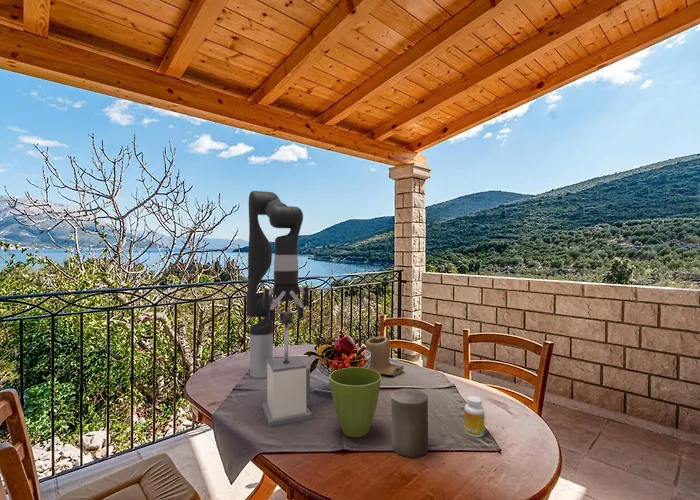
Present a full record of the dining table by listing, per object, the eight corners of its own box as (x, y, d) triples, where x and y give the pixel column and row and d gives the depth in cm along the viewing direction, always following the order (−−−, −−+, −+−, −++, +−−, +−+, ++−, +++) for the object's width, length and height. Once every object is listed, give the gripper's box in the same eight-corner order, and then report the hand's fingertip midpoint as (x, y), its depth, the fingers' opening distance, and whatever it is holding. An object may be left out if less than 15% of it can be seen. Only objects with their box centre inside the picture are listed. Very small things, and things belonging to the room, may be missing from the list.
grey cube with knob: (262, 408, 116) (262, 358, 115) (303, 401, 121) (303, 353, 121) (269, 427, 104) (269, 371, 103) (315, 418, 109) (315, 365, 109)
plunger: (271, 369, 114) (271, 311, 114) (295, 366, 117) (295, 310, 117) (276, 378, 107) (276, 316, 107) (301, 374, 110) (301, 314, 110)
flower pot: (322, 423, 106) (322, 370, 105) (366, 414, 111) (367, 364, 111) (340, 450, 92) (340, 389, 92) (390, 438, 98) (390, 380, 98)
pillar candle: (435, 454, 90) (435, 395, 90) (400, 460, 87) (400, 400, 87) (417, 435, 99) (417, 382, 100) (385, 440, 97) (385, 385, 97)
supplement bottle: (482, 439, 97) (482, 404, 97) (462, 434, 100) (462, 400, 100) (486, 431, 102) (486, 397, 101) (466, 426, 104) (467, 393, 104)
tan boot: (359, 374, 146) (359, 338, 146) (372, 366, 157) (372, 332, 157) (393, 381, 139) (393, 343, 139) (404, 372, 149) (404, 336, 149)
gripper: (304, 268, 118) (304, 316, 118) (261, 269, 112) (261, 319, 113) (311, 269, 111) (311, 320, 111) (265, 270, 105) (265, 324, 106)
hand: (286, 320), depth 112 cm, fingers open, 8 cm apart
